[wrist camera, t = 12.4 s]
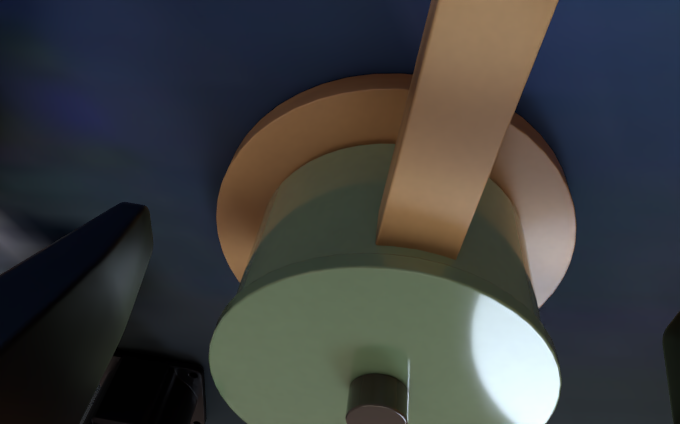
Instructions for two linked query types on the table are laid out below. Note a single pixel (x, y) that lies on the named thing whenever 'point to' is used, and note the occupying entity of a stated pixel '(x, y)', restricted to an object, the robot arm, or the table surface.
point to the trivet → (382, 127)
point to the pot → (403, 258)
